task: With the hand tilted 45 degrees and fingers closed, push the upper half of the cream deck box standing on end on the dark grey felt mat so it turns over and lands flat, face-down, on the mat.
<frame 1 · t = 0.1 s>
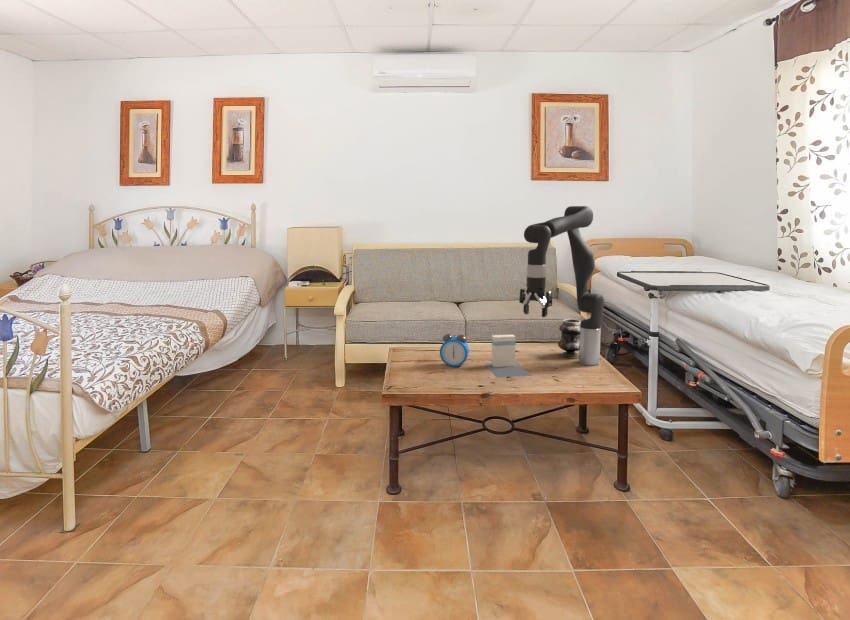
hand: (535, 315, 214), 29 cm above the table, tool pointing down, fingers open, 8 cm apart
deck box: (503, 365, 245), resting on mat
apothecary jar: (570, 356, 262), on the table
alarm clock: (454, 365, 248), on the table
mat: (507, 369, 240), on the table
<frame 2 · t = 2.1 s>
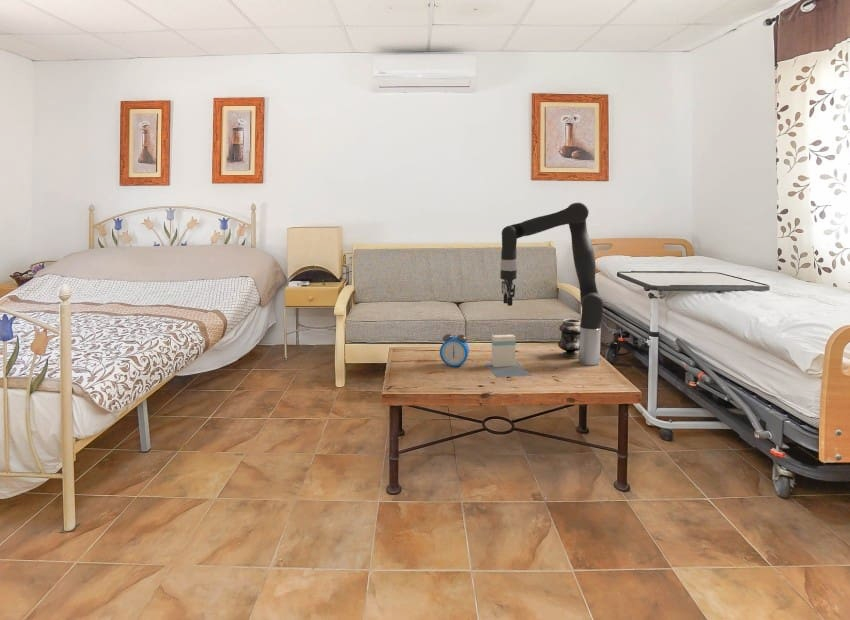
hand: (507, 304, 250), 28 cm above the table, tool pointing down, fingers open, 5 cm apart
nothing on the table moved.
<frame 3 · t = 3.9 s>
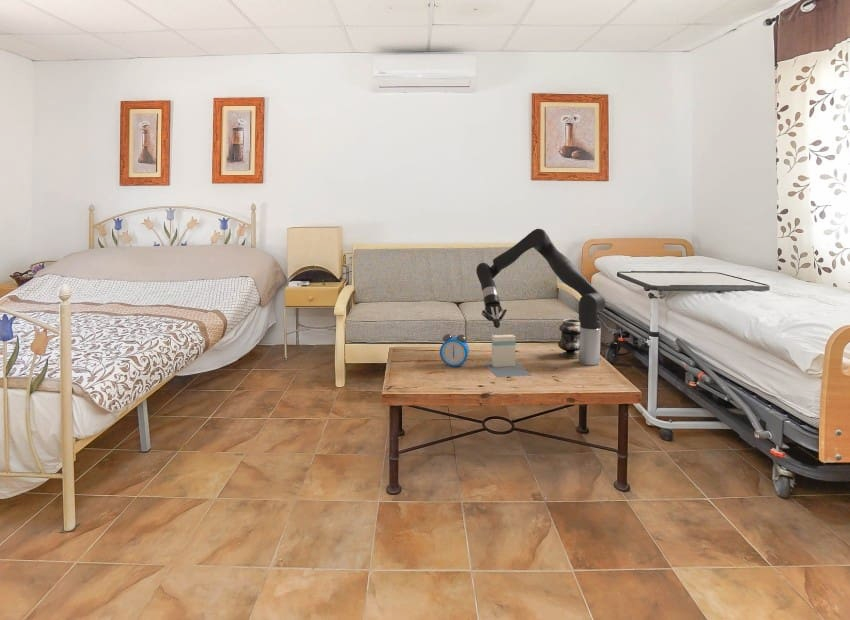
hand: (497, 327, 253), 16 cm above the table, tool tilted 45°, fingers closed
nothing on the table moved.
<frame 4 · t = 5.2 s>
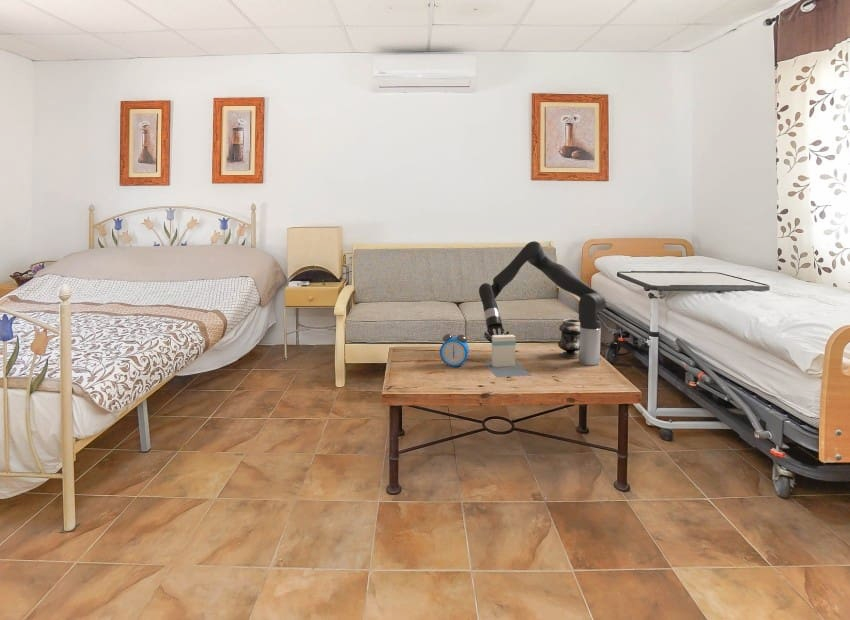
hand: (499, 349, 250), 6 cm above the table, tool tilted 45°, fingers closed
nothing on the table moved.
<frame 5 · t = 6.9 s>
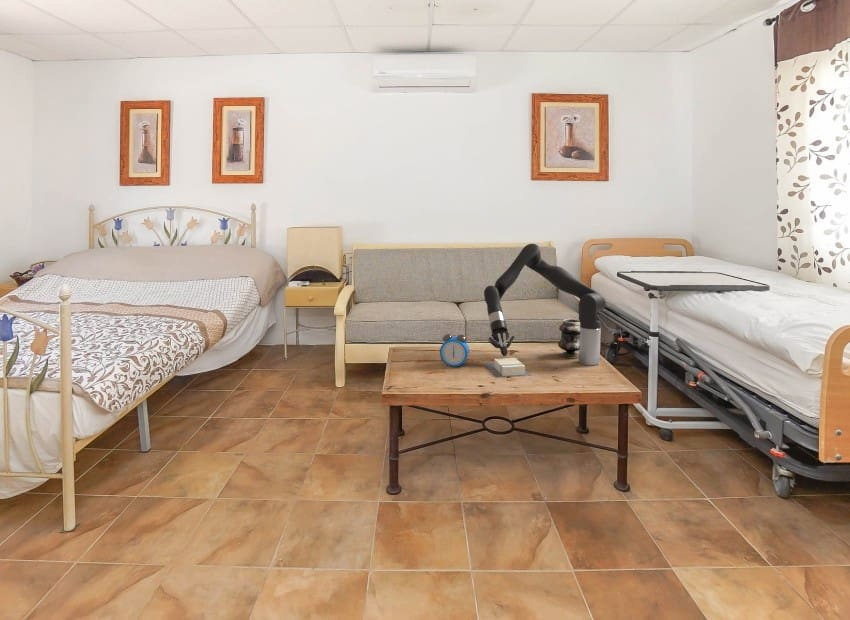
hand: (504, 355, 242), 6 cm above the table, tool tilted 45°, fingers closed
deck box: (504, 362, 243), point 2 cm above the table, tilted 90°, touching mat
everything else where it was.
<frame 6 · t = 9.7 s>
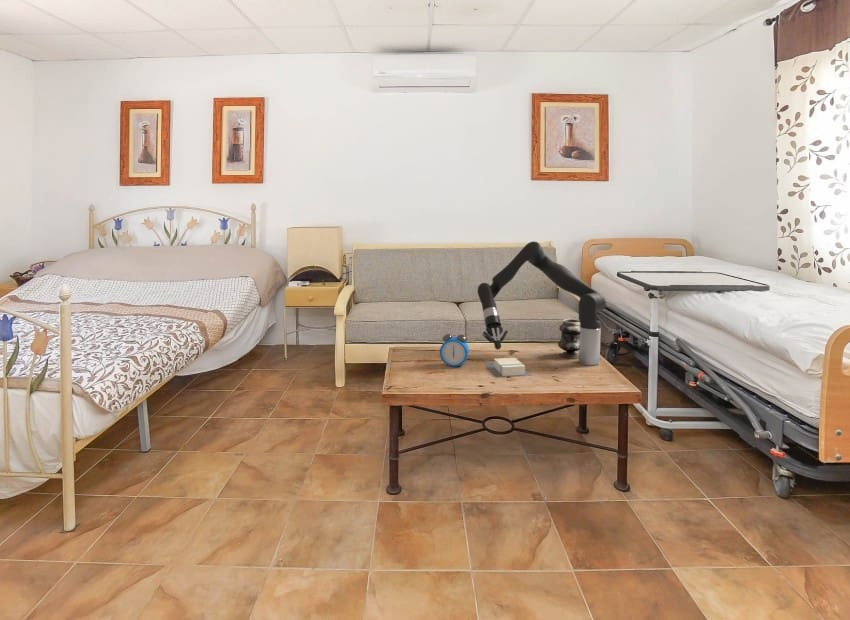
hand: (498, 348, 252), 6 cm above the table, tool tilted 45°, fingers closed
nothing on the table moved.
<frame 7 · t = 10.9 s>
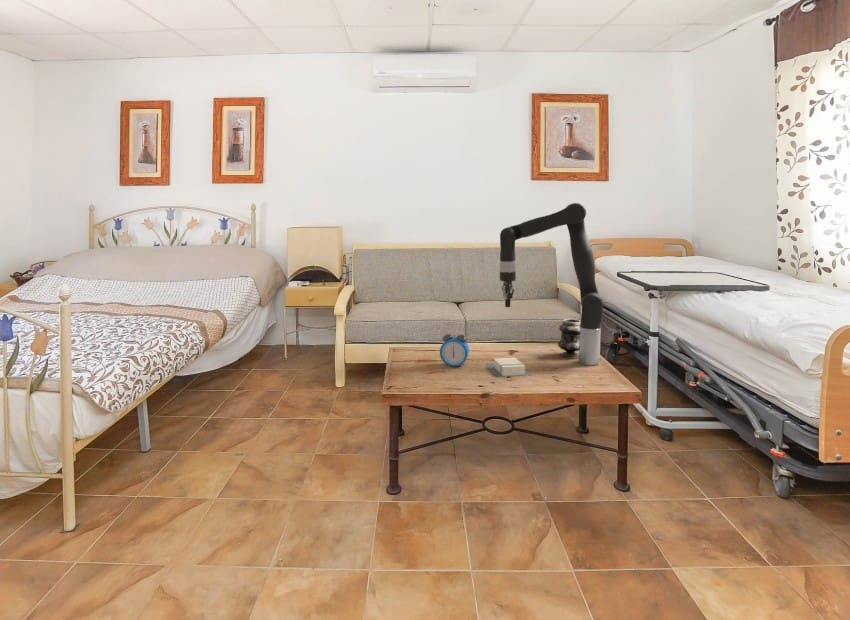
hand: (507, 306, 251), 26 cm above the table, tool pointing down, fingers closed
nothing on the table moved.
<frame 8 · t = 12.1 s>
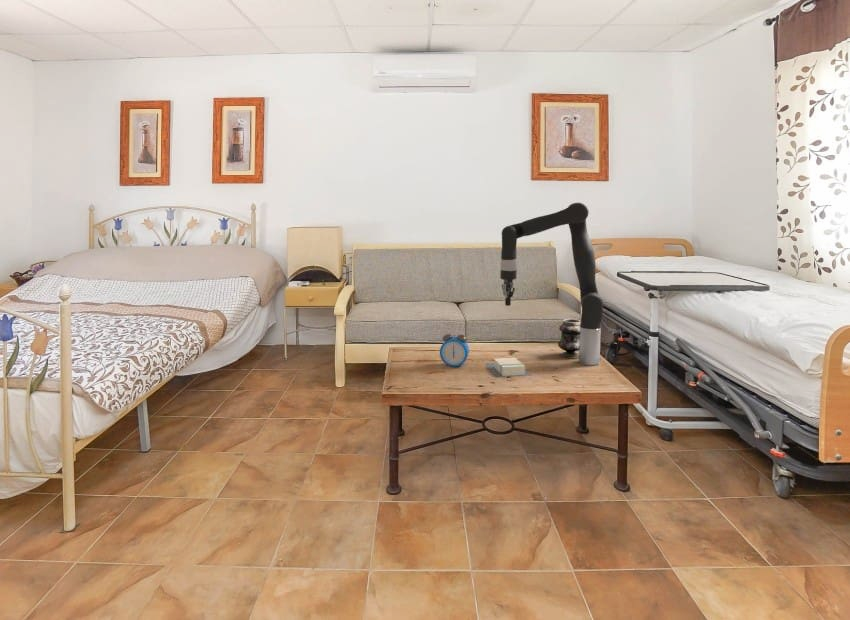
hand: (507, 305, 250), 27 cm above the table, tool pointing down, fingers closed
nothing on the table moved.
at the end: deck box tilted 90°; deck box inside the target area on the mat (3.8 cm from its centre), point 2.5 cm above the mat's base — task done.
